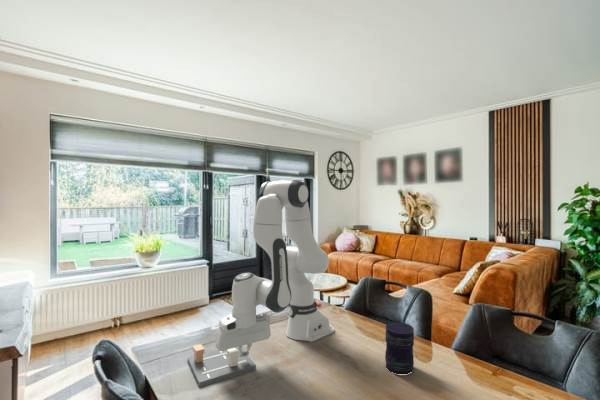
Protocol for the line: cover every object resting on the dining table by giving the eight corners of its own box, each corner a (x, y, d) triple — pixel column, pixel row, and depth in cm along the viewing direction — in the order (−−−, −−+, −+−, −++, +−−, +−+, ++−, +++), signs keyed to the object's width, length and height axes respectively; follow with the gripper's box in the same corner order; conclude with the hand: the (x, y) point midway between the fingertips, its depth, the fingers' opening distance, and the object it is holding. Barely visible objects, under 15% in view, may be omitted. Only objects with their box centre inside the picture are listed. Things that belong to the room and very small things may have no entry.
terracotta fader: (201, 355, 118) (201, 343, 118) (204, 361, 114) (204, 348, 114) (193, 358, 117) (193, 345, 117) (195, 363, 113) (195, 351, 113)
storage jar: (399, 378, 107) (399, 335, 107) (379, 364, 116) (379, 324, 116) (419, 371, 112) (420, 329, 111) (399, 358, 121) (399, 319, 120)
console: (238, 347, 128) (238, 343, 128) (255, 369, 113) (255, 364, 113) (187, 361, 118) (187, 357, 118) (199, 387, 103) (199, 382, 103)
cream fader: (234, 359, 116) (234, 347, 116) (239, 365, 112) (239, 352, 112) (227, 361, 114) (226, 349, 114) (230, 367, 110) (230, 354, 110)
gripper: (266, 310, 123) (266, 345, 123) (214, 321, 112) (214, 359, 113) (273, 315, 117) (273, 352, 118) (219, 327, 107) (219, 367, 107)
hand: (244, 355), depth 115 cm, fingers closed
